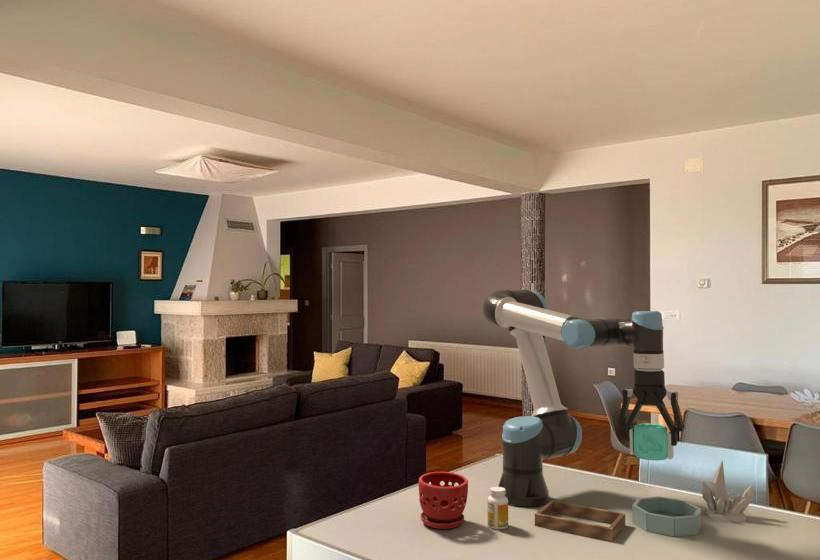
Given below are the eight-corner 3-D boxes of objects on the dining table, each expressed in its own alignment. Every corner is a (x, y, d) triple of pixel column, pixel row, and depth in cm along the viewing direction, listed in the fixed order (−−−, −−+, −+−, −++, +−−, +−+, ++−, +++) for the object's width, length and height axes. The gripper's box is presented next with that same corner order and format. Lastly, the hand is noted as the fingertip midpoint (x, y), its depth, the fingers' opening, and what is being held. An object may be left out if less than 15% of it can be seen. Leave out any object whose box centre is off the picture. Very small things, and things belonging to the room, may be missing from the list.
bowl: (627, 527, 164) (627, 510, 164) (641, 509, 177) (641, 493, 177) (694, 540, 155) (694, 522, 155) (704, 520, 169) (703, 503, 169)
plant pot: (411, 529, 163) (411, 482, 163) (428, 512, 175) (427, 469, 176) (460, 535, 159) (460, 487, 159) (473, 518, 171) (473, 473, 171)
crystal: (761, 523, 167) (760, 466, 167) (707, 520, 169) (707, 464, 169) (747, 510, 176) (747, 456, 177) (697, 508, 179) (697, 455, 179)
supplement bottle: (510, 523, 167) (509, 486, 167) (506, 531, 162) (506, 492, 162) (489, 521, 168) (489, 484, 169) (485, 528, 163) (485, 490, 164)
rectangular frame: (534, 525, 165) (534, 513, 165) (552, 510, 176) (551, 500, 176) (612, 541, 155) (611, 529, 155) (625, 525, 166) (625, 513, 166)
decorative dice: (667, 461, 160) (666, 430, 160) (634, 459, 163) (633, 428, 164) (668, 454, 168) (667, 424, 168) (636, 452, 171) (635, 422, 171)
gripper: (603, 368, 169) (606, 453, 169) (689, 372, 157) (692, 464, 156) (612, 366, 176) (614, 448, 175) (696, 370, 163) (699, 457, 162)
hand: (651, 455), depth 165 cm, fingers closed on decorative dice, 9 cm apart
